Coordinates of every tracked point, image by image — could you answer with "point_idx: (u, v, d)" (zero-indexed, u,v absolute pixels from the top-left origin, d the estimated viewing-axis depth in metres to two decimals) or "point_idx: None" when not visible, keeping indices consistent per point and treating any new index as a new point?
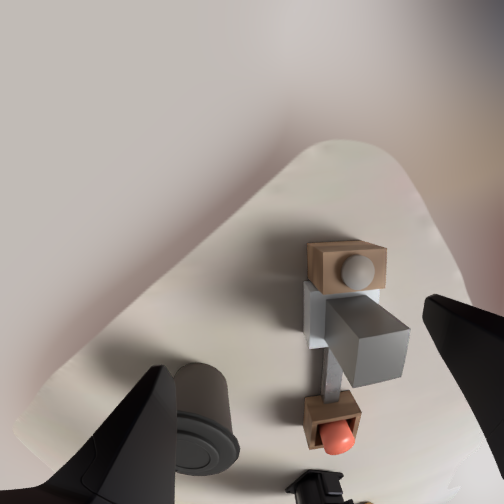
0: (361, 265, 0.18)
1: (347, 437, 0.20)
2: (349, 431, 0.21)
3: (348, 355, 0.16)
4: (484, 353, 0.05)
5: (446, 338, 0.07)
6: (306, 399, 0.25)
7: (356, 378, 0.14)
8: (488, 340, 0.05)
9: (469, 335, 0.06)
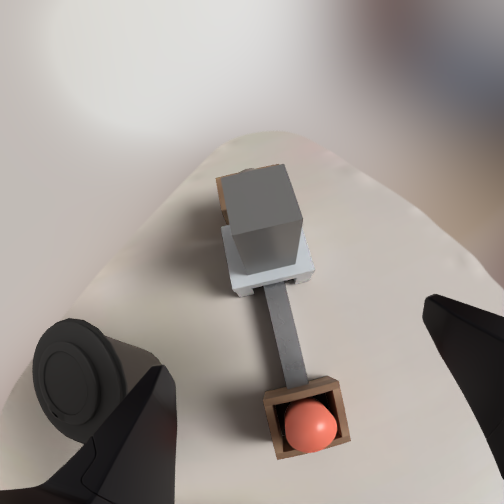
0: None
1: (317, 411, 0.14)
2: (323, 407, 0.14)
3: None
4: (484, 353, 0.05)
5: (446, 338, 0.07)
6: (266, 392, 0.19)
7: (231, 221, 0.13)
8: (488, 340, 0.05)
9: (469, 335, 0.06)
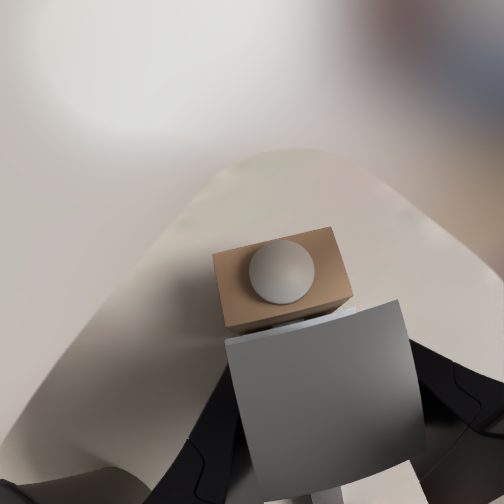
0: (281, 255, 0.10)
1: None
2: None
3: None
4: None
5: None
6: None
7: (262, 474, 0.04)
8: None
9: None
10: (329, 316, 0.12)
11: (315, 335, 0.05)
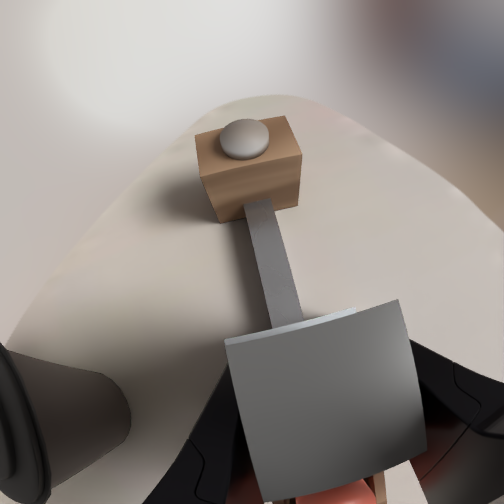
0: (244, 127, 0.13)
1: (349, 489, 0.06)
2: None
3: None
4: None
5: None
6: None
7: (262, 475, 0.04)
8: None
9: None
10: (329, 316, 0.12)
11: (315, 335, 0.05)
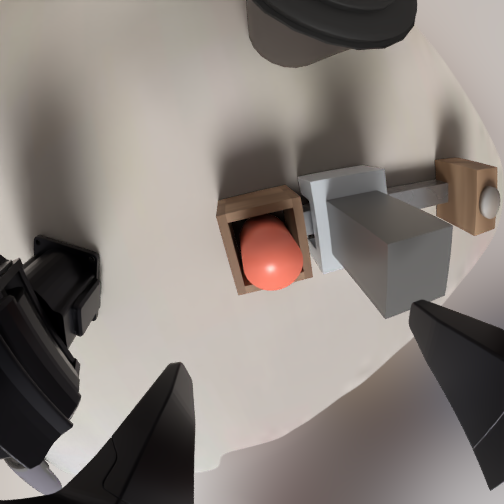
0: (496, 204, 0.14)
1: (297, 268, 0.14)
2: None
3: (400, 223, 0.10)
4: (470, 362, 0.05)
5: (431, 344, 0.07)
6: (286, 187, 0.18)
7: (403, 242, 0.09)
8: (474, 349, 0.05)
9: (454, 343, 0.06)
10: None
11: (446, 262, 0.10)
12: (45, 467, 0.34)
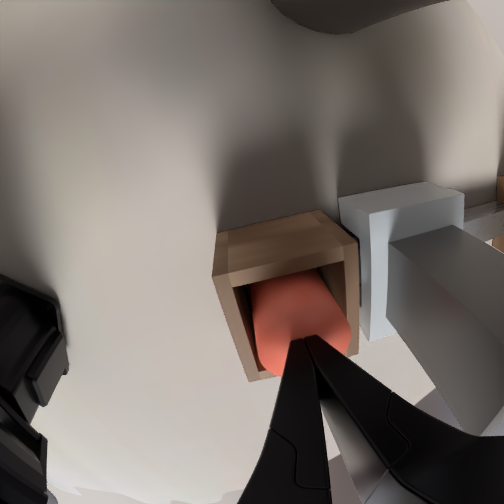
0: None
1: (340, 349, 0.08)
2: None
3: None
4: (342, 421, 0.05)
5: (317, 387, 0.07)
6: (321, 214, 0.12)
7: None
8: (347, 407, 0.05)
9: (329, 395, 0.06)
10: None
11: None
12: None
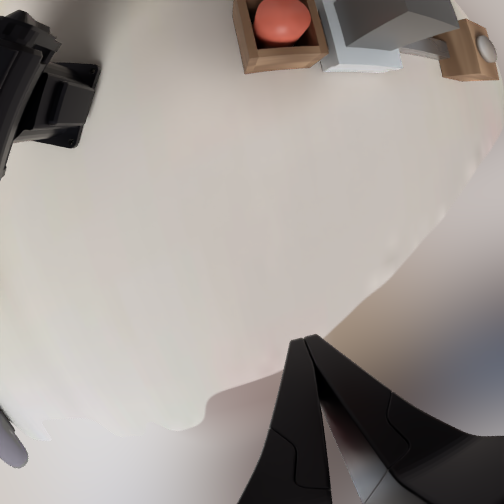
0: (492, 51, 0.10)
1: (305, 22, 0.11)
2: (303, 32, 0.12)
3: None
4: (342, 421, 0.05)
5: (317, 387, 0.07)
6: None
7: None
8: (347, 408, 0.05)
9: (329, 395, 0.06)
10: (398, 51, 0.13)
11: None
12: (8, 428, 0.29)
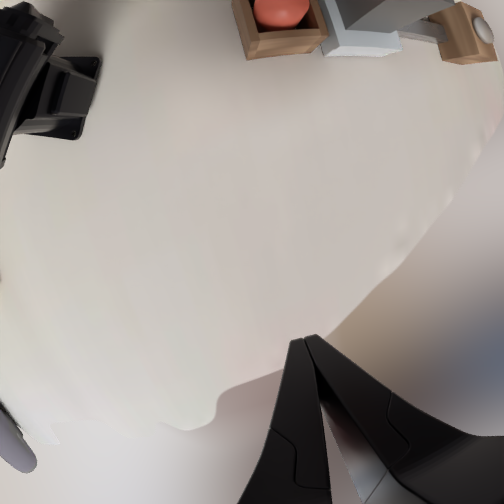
0: (489, 32, 0.09)
1: (304, 5, 0.10)
2: None
3: None
4: (342, 421, 0.05)
5: (317, 387, 0.07)
6: None
7: None
8: (347, 407, 0.05)
9: (329, 395, 0.06)
10: (397, 34, 0.12)
11: None
12: (15, 432, 0.30)
